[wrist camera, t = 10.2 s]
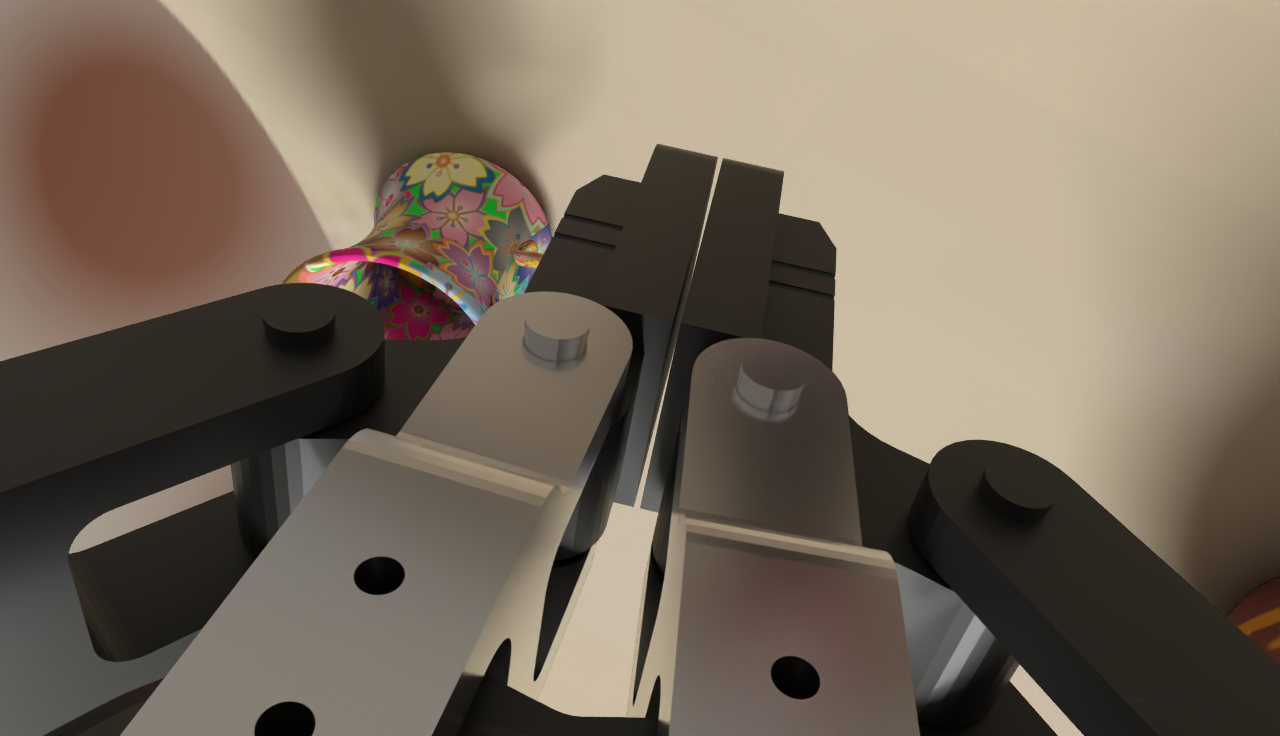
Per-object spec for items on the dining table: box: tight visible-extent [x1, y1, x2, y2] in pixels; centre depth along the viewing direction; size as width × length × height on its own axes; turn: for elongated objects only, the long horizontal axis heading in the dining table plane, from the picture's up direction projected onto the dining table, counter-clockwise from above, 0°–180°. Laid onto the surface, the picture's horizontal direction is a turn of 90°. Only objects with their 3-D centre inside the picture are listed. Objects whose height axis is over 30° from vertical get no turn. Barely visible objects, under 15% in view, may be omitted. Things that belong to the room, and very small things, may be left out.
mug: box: [282, 152, 552, 340], centre depth 42 cm, size 12×9×11 cm
